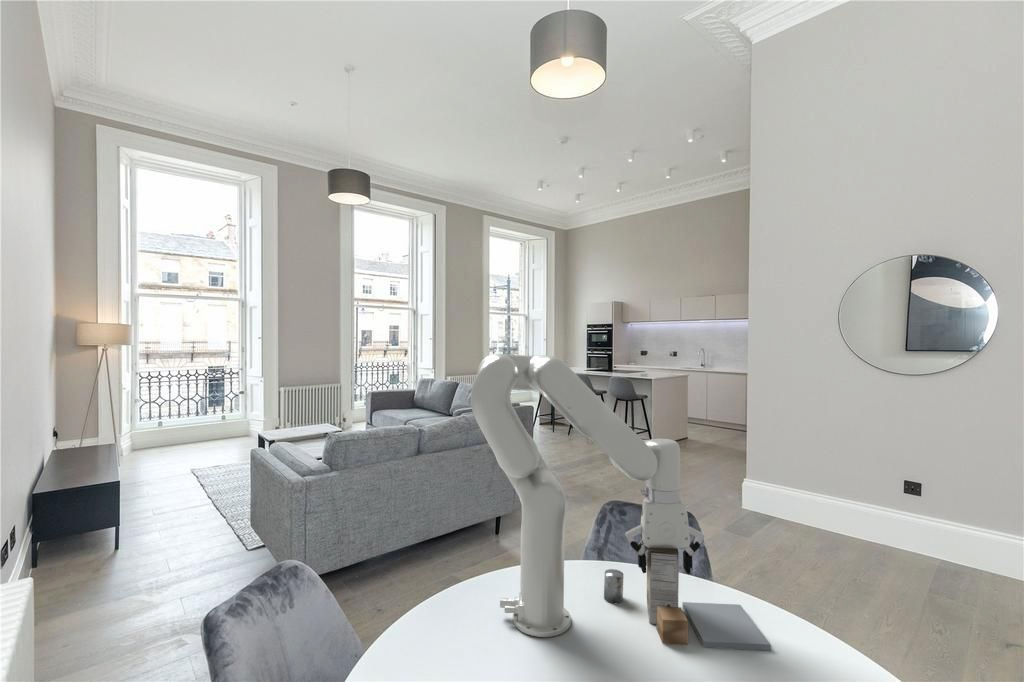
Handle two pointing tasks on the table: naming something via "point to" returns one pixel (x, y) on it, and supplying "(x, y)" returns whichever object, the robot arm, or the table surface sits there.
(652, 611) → the coffee box
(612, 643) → the table surface
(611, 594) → the metal canister
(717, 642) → the slate board
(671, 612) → the walnut block
